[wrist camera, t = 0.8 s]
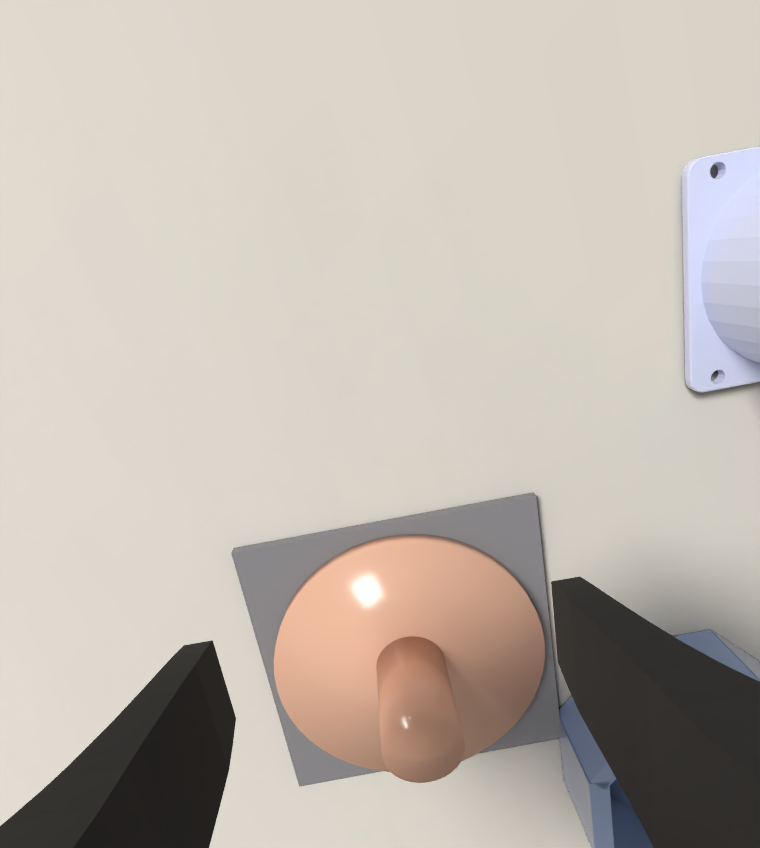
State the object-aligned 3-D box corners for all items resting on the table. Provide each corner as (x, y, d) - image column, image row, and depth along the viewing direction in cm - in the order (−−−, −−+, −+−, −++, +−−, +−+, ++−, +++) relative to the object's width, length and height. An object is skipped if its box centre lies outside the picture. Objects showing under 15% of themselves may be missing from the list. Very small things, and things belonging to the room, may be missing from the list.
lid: (524, 510, 21) (572, 577, 17) (549, 731, 24) (595, 839, 20) (247, 562, 21) (218, 644, 17) (308, 776, 24) (297, 894, 20)
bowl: (776, 616, 24) (847, 675, 20) (770, 789, 27) (831, 865, 23) (550, 658, 24) (583, 723, 20) (568, 826, 27) (599, 907, 23)
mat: (533, 492, 21) (536, 496, 21) (558, 730, 25) (561, 737, 25) (233, 548, 22) (231, 553, 21) (300, 778, 25) (299, 786, 25)
